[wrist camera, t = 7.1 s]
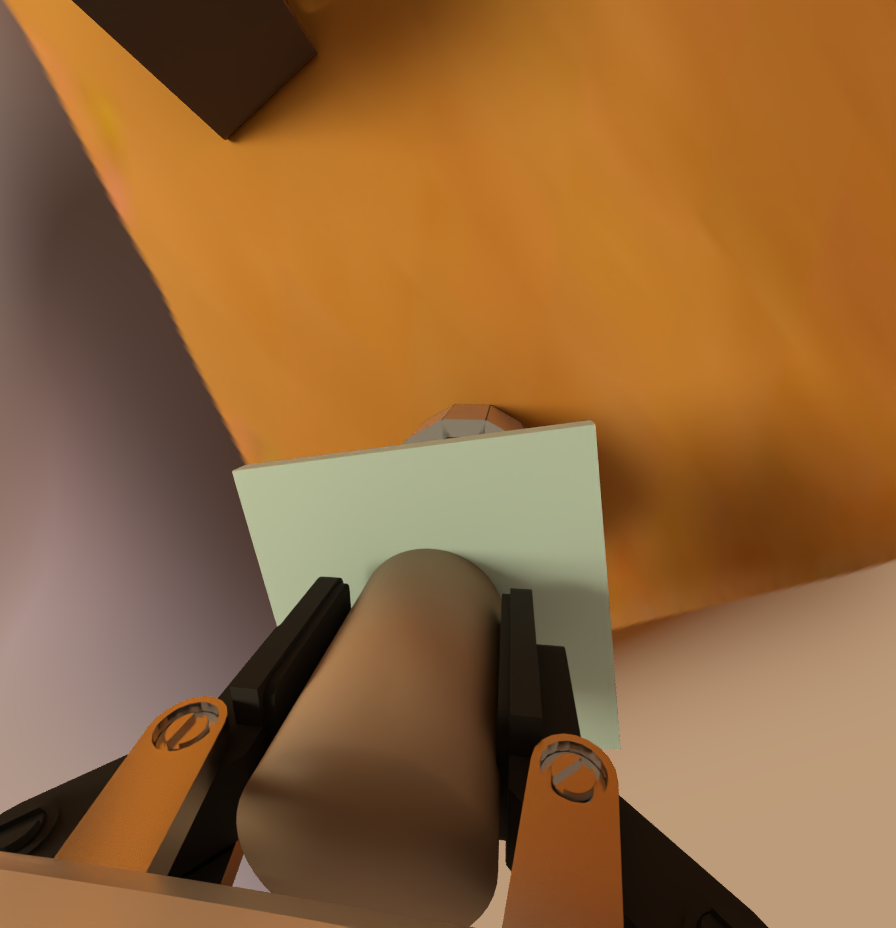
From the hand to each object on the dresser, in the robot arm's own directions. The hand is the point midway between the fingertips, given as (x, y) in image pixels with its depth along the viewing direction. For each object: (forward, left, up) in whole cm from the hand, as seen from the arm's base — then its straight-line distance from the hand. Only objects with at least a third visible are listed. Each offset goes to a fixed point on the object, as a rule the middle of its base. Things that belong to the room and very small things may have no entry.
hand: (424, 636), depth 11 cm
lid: (0, 0, -2) cm, 2 cm away
